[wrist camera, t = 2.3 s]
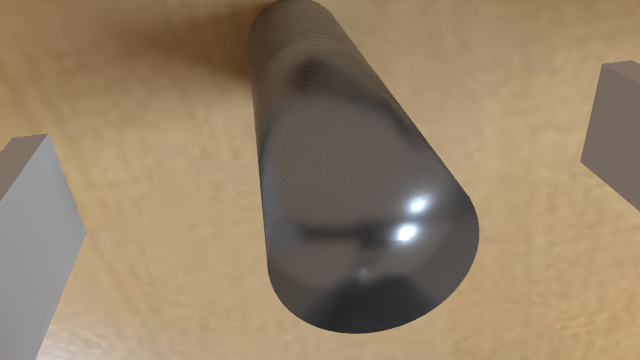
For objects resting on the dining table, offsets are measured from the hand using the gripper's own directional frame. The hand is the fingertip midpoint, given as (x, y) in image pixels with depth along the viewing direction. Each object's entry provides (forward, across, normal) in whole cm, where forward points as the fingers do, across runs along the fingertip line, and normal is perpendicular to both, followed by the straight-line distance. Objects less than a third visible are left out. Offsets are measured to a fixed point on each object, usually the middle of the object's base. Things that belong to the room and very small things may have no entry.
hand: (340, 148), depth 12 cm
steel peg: (+10, 0, +1) cm, 10 cm away
